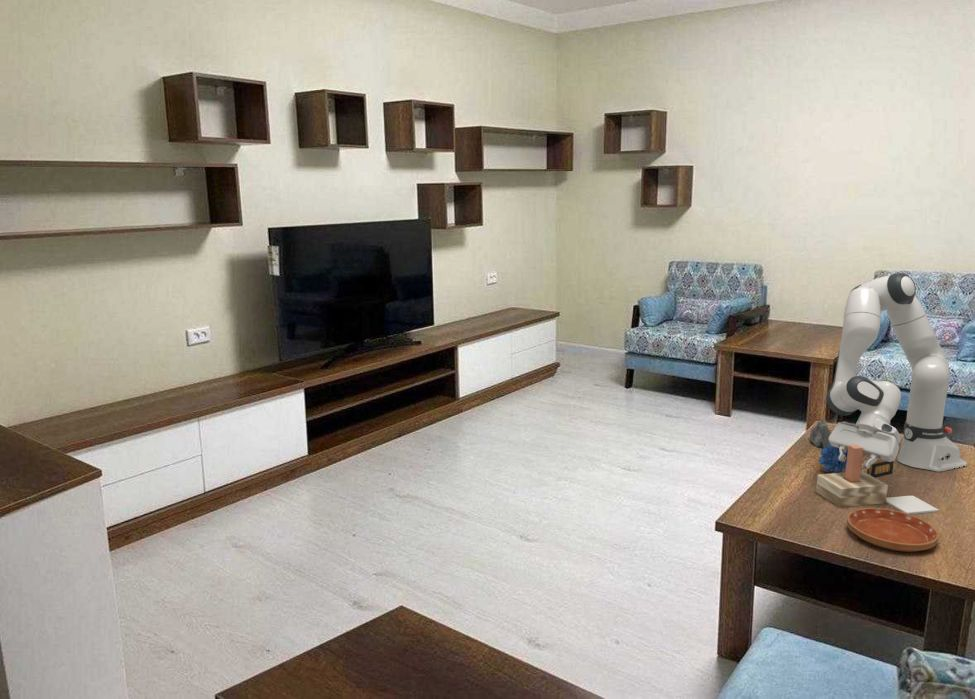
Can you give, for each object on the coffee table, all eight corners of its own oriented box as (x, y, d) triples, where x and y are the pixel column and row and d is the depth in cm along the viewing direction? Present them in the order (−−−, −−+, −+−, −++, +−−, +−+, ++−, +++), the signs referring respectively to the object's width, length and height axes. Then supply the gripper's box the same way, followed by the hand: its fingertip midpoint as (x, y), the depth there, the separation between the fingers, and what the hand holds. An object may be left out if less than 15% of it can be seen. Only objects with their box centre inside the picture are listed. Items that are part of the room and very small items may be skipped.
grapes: (855, 472, 262) (858, 438, 259) (854, 478, 256) (858, 444, 253) (818, 466, 267) (821, 434, 264) (817, 472, 261) (820, 439, 258)
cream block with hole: (861, 488, 248) (863, 470, 247) (887, 503, 236) (889, 485, 235) (816, 492, 245) (817, 474, 243) (839, 507, 233) (841, 489, 232)
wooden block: (852, 486, 242) (857, 444, 239) (858, 490, 239) (863, 447, 236) (843, 487, 241) (848, 445, 238) (850, 490, 238) (854, 448, 235)
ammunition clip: (871, 478, 256) (875, 445, 253) (866, 476, 257) (870, 443, 255) (892, 473, 260) (896, 440, 258) (887, 471, 262) (891, 438, 259)
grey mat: (912, 497, 241) (912, 495, 241) (938, 511, 230) (938, 509, 230) (881, 499, 239) (881, 498, 239) (906, 514, 228) (906, 512, 228)
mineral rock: (813, 436, 299) (815, 411, 297) (841, 442, 292) (844, 417, 290) (801, 444, 289) (804, 419, 287) (831, 450, 282) (833, 425, 280)
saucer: (945, 535, 215) (947, 523, 215) (925, 564, 199) (927, 552, 198) (860, 512, 230) (861, 501, 229) (834, 538, 214) (836, 526, 213)
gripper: (836, 414, 248) (818, 449, 244) (901, 430, 232) (883, 467, 228) (841, 425, 251) (823, 459, 247) (906, 441, 236) (888, 478, 232)
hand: (852, 463), depth 238 cm, fingers open, 6 cm apart
